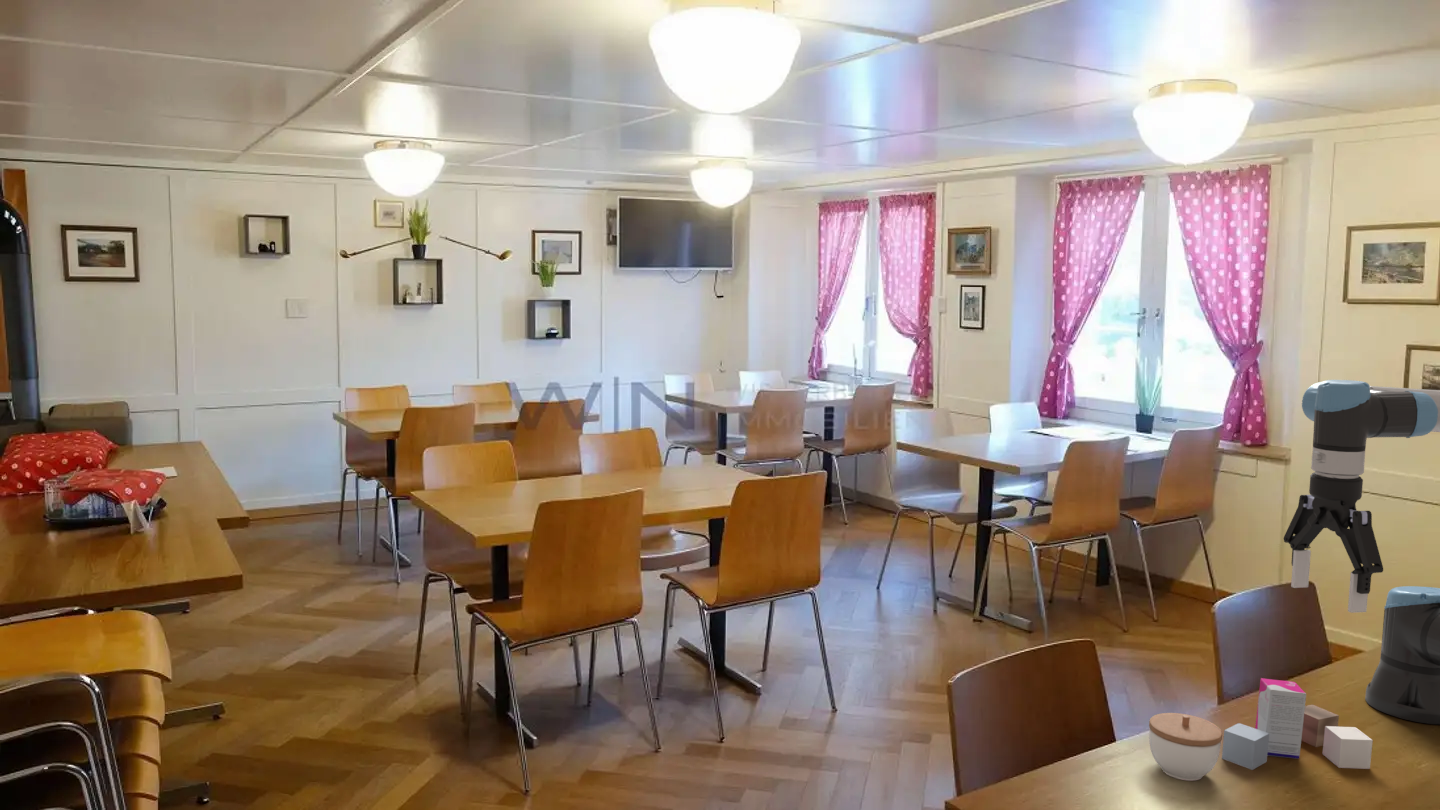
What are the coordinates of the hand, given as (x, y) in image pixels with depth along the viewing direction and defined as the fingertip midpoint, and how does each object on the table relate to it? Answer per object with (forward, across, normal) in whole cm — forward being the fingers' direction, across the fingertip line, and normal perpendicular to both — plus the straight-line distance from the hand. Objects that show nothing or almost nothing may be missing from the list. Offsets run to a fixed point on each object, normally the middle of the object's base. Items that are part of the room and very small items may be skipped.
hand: (1327, 599), depth 177 cm
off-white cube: (+26, +5, +2) cm, 27 cm away
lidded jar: (+26, +6, -28) cm, 39 cm away
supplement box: (+26, 0, -7) cm, 27 cm away
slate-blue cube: (+26, +3, -15) cm, 30 cm away
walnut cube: (+26, -3, +2) cm, 27 cm away
